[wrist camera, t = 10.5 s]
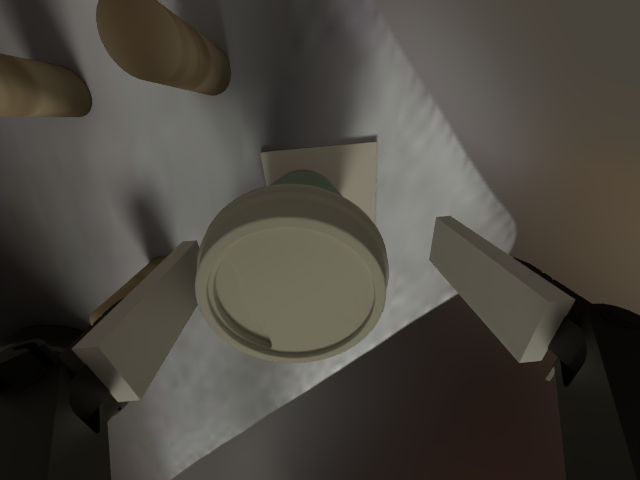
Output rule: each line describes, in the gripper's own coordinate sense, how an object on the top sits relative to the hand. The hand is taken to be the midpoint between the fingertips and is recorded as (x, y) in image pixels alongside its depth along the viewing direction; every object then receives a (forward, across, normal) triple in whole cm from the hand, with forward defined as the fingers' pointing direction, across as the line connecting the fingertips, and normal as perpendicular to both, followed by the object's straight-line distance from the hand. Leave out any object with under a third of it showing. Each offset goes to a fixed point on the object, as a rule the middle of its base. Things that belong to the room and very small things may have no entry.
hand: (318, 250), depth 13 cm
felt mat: (+8, +1, 0) cm, 8 cm away
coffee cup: (+8, -1, 0) cm, 8 cm away
